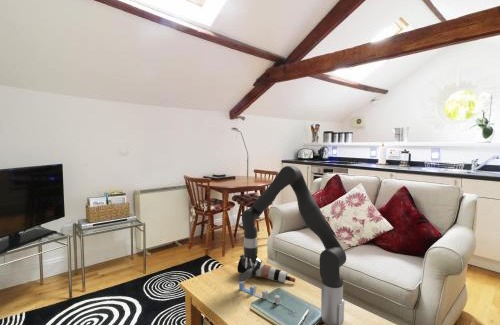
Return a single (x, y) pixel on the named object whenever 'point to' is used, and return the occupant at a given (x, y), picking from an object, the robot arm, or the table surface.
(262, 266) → the cable
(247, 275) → the gray elongated ellipsoid
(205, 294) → the table surface
